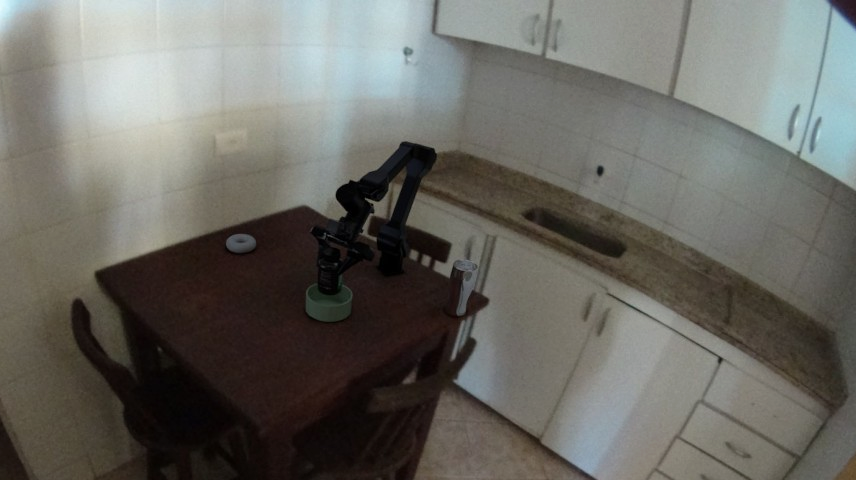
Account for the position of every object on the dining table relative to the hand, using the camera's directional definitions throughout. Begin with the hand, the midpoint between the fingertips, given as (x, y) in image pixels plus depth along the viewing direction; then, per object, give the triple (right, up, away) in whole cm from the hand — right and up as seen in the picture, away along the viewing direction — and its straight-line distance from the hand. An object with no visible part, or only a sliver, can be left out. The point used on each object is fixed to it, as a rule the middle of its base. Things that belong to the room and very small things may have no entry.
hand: (327, 270), depth 166 cm
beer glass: (+37, -11, +10) cm, 40 cm away
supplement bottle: (+1, -5, +5) cm, 7 cm away
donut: (-27, +12, +38) cm, 48 cm away
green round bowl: (+1, -10, +9) cm, 13 cm away
